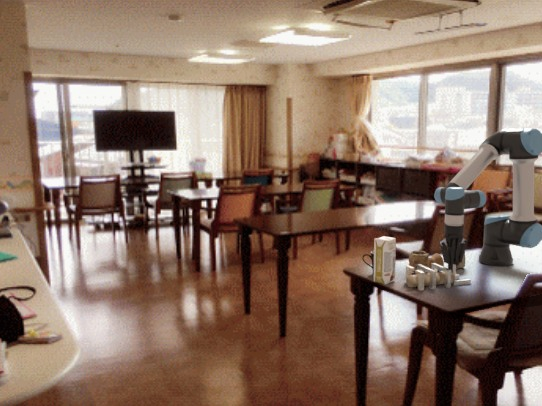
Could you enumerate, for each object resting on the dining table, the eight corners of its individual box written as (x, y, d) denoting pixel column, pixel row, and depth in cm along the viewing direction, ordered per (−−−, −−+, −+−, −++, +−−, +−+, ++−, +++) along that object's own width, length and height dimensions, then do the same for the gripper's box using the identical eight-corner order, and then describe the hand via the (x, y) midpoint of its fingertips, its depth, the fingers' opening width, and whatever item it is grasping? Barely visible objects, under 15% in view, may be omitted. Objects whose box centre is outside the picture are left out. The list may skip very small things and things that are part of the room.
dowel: (447, 280, 211) (448, 269, 210) (454, 284, 206) (455, 273, 205) (405, 284, 205) (406, 273, 204) (412, 289, 201) (413, 277, 200)
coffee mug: (393, 273, 223) (393, 252, 221) (383, 277, 216) (384, 255, 215) (371, 269, 230) (371, 248, 229) (361, 273, 224) (361, 251, 223)
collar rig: (455, 277, 216) (456, 261, 215) (472, 284, 205) (473, 267, 204) (405, 282, 209) (405, 265, 208) (420, 290, 198) (420, 272, 197)
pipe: (447, 273, 222) (447, 252, 220) (416, 277, 216) (417, 255, 215) (434, 268, 230) (434, 248, 229) (404, 272, 225) (405, 251, 224)
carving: (455, 265, 236) (456, 240, 234) (468, 268, 229) (469, 243, 228) (446, 266, 233) (447, 242, 231) (458, 270, 226) (459, 245, 225)
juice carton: (397, 281, 211) (398, 237, 209) (386, 285, 206) (387, 240, 203) (382, 277, 217) (382, 235, 214) (371, 281, 211) (371, 238, 208)
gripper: (461, 221, 210) (459, 275, 214) (435, 223, 207) (433, 278, 210) (473, 224, 203) (471, 280, 206) (446, 226, 200) (444, 283, 203)
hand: (452, 279), depth 208 cm, fingers closed
